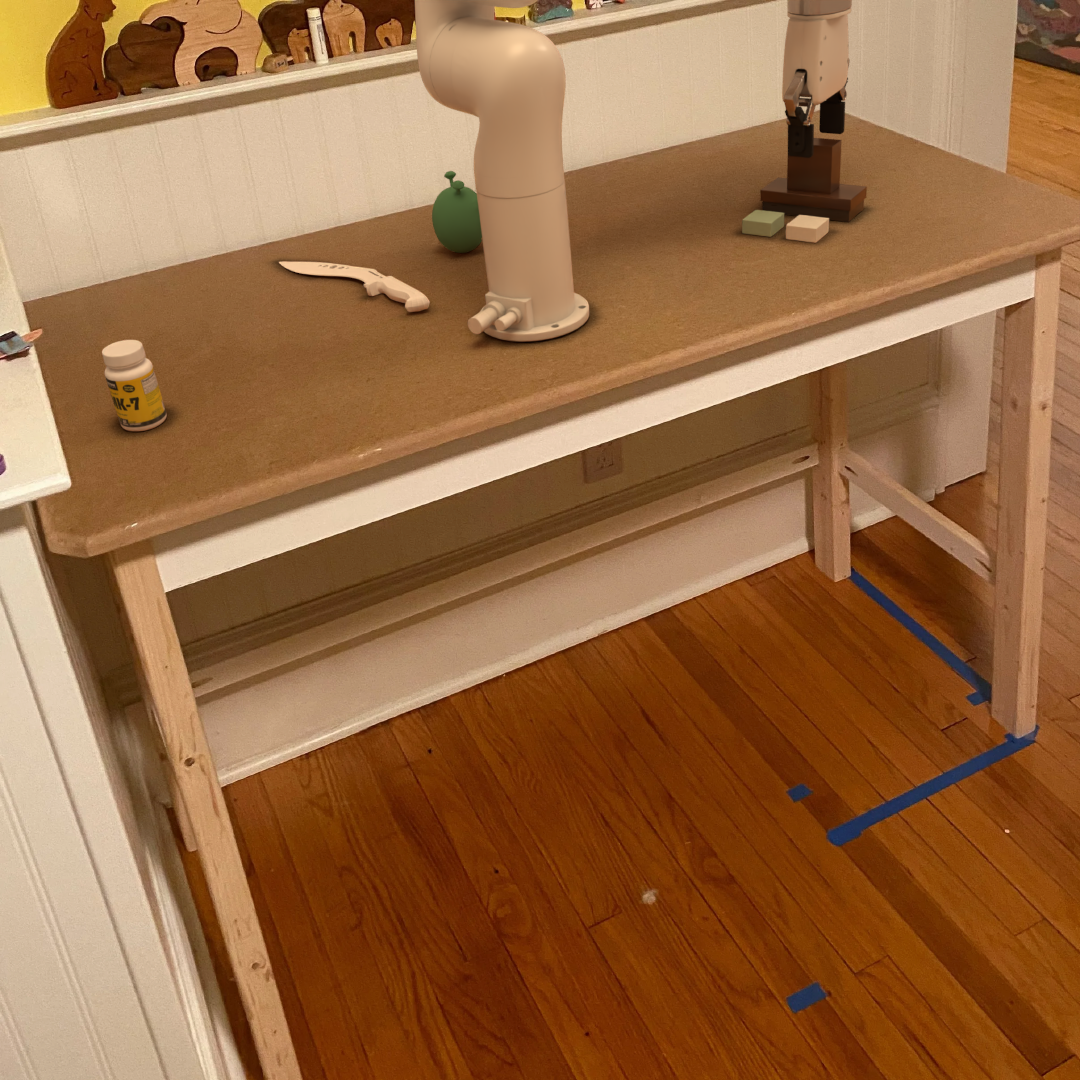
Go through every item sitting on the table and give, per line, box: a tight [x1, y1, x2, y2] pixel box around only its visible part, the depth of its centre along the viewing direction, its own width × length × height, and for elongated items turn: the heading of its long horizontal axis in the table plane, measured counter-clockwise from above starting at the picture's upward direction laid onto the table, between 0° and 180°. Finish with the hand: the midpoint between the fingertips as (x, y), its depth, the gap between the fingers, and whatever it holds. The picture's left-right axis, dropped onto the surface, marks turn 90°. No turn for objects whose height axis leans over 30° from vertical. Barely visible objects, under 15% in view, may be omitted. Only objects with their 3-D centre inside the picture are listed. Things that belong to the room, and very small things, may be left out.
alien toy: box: [431, 170, 483, 254], centre depth 156 cm, size 7×8×10 cm
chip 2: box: [785, 215, 830, 244], centre depth 152 cm, size 4×4×2 cm
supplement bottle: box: [101, 339, 168, 432], centre depth 124 cm, size 5×5×8 cm
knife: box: [278, 261, 431, 313], centre depth 152 cm, size 30×2×8 cm
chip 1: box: [741, 209, 785, 238], centre depth 155 cm, size 4×4×2 cm
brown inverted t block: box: [759, 137, 868, 223], centre depth 157 cm, size 5×12×9 cm, turn 56°
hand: (816, 144), depth 155 cm, fingers open, 9 cm apart
